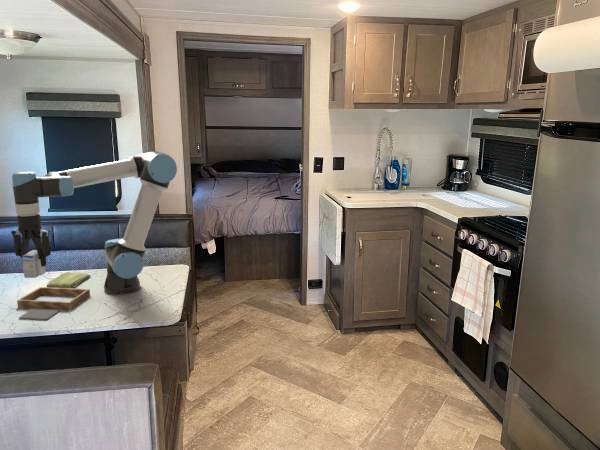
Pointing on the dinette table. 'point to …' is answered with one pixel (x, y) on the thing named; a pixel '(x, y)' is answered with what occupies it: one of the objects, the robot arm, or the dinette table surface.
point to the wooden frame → (31, 303)
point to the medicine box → (31, 264)
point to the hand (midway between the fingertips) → (35, 273)
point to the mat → (40, 314)
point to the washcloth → (68, 280)
